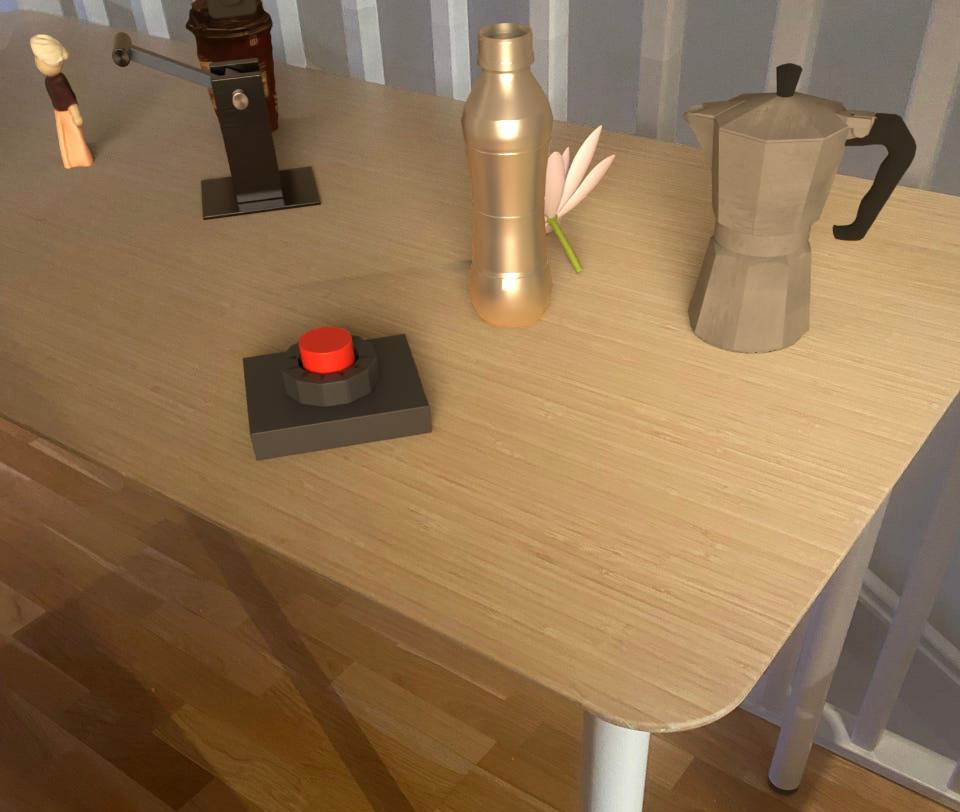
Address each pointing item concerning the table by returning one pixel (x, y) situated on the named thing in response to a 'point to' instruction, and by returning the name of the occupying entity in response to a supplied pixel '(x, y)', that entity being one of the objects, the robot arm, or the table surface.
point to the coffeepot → (778, 205)
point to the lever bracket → (250, 151)
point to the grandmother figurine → (62, 100)
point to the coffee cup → (236, 46)
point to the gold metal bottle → (508, 179)
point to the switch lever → (159, 61)
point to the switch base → (334, 399)
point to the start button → (326, 350)
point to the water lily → (570, 187)
